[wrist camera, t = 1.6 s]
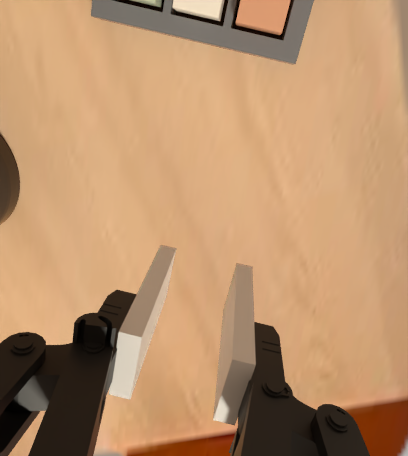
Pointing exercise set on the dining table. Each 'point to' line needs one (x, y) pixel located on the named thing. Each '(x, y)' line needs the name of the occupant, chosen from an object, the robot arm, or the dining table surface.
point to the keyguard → (212, 27)
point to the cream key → (200, 8)
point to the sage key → (150, 2)
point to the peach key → (263, 15)
